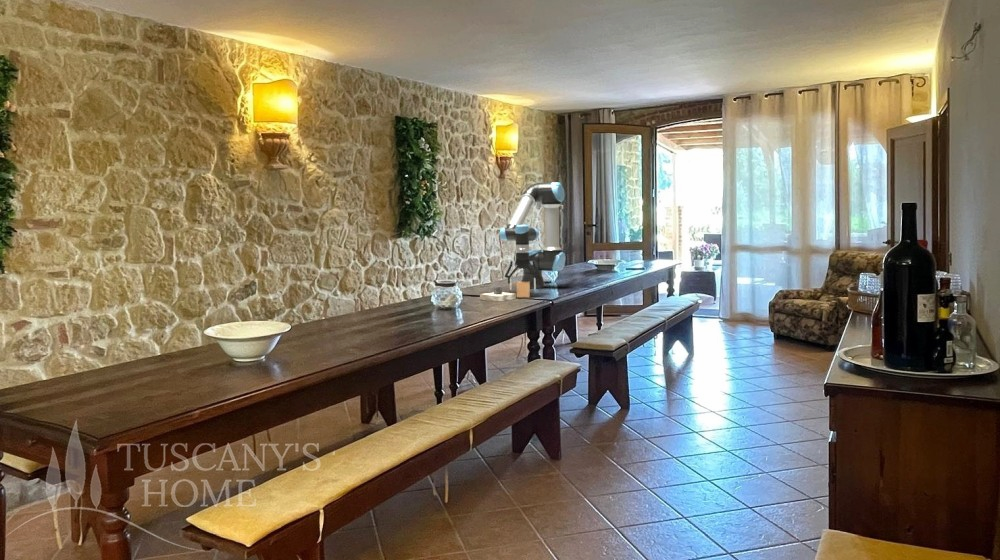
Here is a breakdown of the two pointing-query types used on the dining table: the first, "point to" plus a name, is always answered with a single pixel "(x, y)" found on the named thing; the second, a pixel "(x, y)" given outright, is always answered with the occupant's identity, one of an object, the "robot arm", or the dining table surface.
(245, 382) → the dining table surface
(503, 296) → the hub
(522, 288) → the orange block
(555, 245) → the robot arm
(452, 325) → the dining table surface
